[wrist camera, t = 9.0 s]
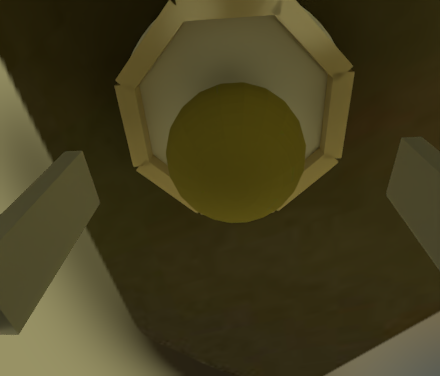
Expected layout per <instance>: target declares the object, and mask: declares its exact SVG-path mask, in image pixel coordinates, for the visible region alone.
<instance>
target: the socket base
mask: <svg viewBox="0 0 440 376" xmlns="http://www.w3.org/2000/svg"><path fill="white" fill-rule="evenodd" d="M175 1H176V2H175ZM175 1H174V0H169V1H168V2H167V4H166V5H165V7H164V8H163V10H162V11H161V13H160V14H159V16H158V17H157V19H156V20H155V21H153V22H152V23H151V25H150V26H149V27H148V29H147V30H146V31H145V32H144V34H143V35H142V36H141V38H140V40H139V41H138V43H137V45H136V47H135V48H134V50H133V53H132V55H131V57H130V59H129V60H128V62H127V63H126V65H125V66H124V68H123V69H122V71H121V72H120V74H119V75H118V77H117V78H116V80H115V81H116V82H118V83H117V84H116V85H114V87H115V92H116V96H117V100H118V104H119V108H120V113H121V117H122V121H123V125H124V129H125V134H126V138H127V142H128V146H129V150H130V155H131V159H132V163H133V167H136V166H138V168H137V170H136V171H138V172H139V173H140V174H142V175H143V176H145V177H146V178H147V179H149V180H150V181H152V182H153V183H155V184H156V185H157V186H159V187H160V188H162V189H163V190H164V191H166V192H167V193H169V194H170V195H171V196H173V197H174V198H176V199H177V200H178V201H180V202H181V203H183V204H184V205H186V206H187V207H188V208H190V209H191V210H193V211H194V212H195V213H198V212H197V211H196V210H195V209H194V208H192V207H191V206H190V205H189V204H188V203H187V202H186V201H185V200H184V199H183V198H182V197H181V196H180V194H179V192H178V191H177V189H176V187H175V185H174V183H173V182H172V180H171V178H170V175H169V169H168V164H167V158H166V148H167V142H168V136H169V131H170V127H171V126H172V124H173V122H174V120H175V119H176V117H177V115H178V113H179V112H180V110H181V108H182V107H183V106H184V105H185V104H186V103H188V102H189V101H190V100H191V99H192V98H193V97H195V96H196V95H197V94H198V93H199V92H201V91H204V90H206V89H209V88H211V87H214V86H216V85H218V84H224V83H239V82H245V83H248V84H252V85H256V86H260V87H263V88H266V89H268V90H269V91H271V92H272V93H274V94H275V95H277V96H278V97H280V98H281V99H283V100H284V101H285V102H286V103H287V105H288V106H289V108H290V109H291V110H292V112H293V113H294V114H295V116H296V117H297V119H298V120H299V122H300V126H301V129H302V133H303V136H304V140H305V143H306V153H305V165H304V171H303V174H302V176H301V178H300V180H299V183H298V185H297V187H296V189H295V191H294V193H293V194H292V195H291V196H290V197H289V198H288V199H287V200H286V201H285V203H284V204H283V205H282V206H281V207H279V208H278V209H276V210H278V211H279V210H280V209H281V208H283V207H284V206H285V205H286V204H288V203H289V202H290V201H291V200H293V199H294V198H295V197H296V196H298V195H299V194H300V193H301V192H303V191H304V190H305V189H306V188H307V187H309V186H310V185H311V184H312V183H314V182H315V181H316V180H317V179H319V178H320V177H321V176H322V175H324V174H325V173H326V172H327V171H329V170H330V169H331V168H332V167H333V166H335V165H336V164H337V163H338V160H337V159H336V158H341V157H342V150H343V144H344V138H345V131H346V125H347V118H348V112H349V106H350V99H351V93H352V86H353V80H354V73H355V72H354V71H353V70H351V68H352V67H353V65H352V64H351V63H350V62H349V61H348V60H347V58H346V57H345V56H344V55H343V54H342V53H341V51H340V50H339V49H338V48H337V47H336V46H335V44H334V42H333V40H332V38H331V37H330V35H329V34H328V33H327V31H326V30H325V28H324V27H323V26H322V24H321V23H320V22H319V21H318V20H317V19H316V18H315V17H314V16H313V15H312V14H311V13H310V12H308V11H307V10H306V9H304V8H303V7H301V5H300V4H299V3H298V2H297V1H296V0H175ZM272 213H274V211H273V212H272ZM201 215H203V214H201Z"/></svg>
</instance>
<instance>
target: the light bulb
mask: <svg viewBox="0 0 440 376" xmlns="http://www.w3.org/2000/svg"><path fill="white" fill-rule="evenodd" d="M305 153H306V143H305V140H304V136H303V133H302V129H301V126H300V122H299V120H298V119H297V117H296V116H295V114H294V113H293V112H292V110H291V109H290V108H289V106H288V105H287V103H286V102H285V101H284V100H283V99H281V98H280V97H278V96H277V95H275V94H274V93H272V92H271V91H269V90H268V89H266V88H263V87H260V86H256V85H252V84H248V83H245V82H239V83H224V84H218V85H216V86H214V87H211V88H209V89H206V90H204V91H201V92H199V93H198V94H197V95H196V96H195V97H193V98H192V99H191V100H190V101H189V102H188V103H186V104H185V105H184V106H183V107H182V108H181V110H180V112H179V113H178V115H177V117H176V119H175V120H174V122H173V124H172V126H171V127H170V131H169V136H168V142H167V148H166V158H167V164H168V169H169V175H170V178H171V180H172V182H173V183H174V185H175V187H176V189H177V191H178V192H179V194H180V196H181V197H182V198H183V199H184V200H185V201H186V202H187V203H188V204H189V205H190V206H191V207H192V208H194V209H195V210H196V211H197V212H199V213H201V214H203V215H205V216H207V217H209V218H211V219H214V220H219V221H223V222H228V223H237V222H249V221H253V220H256V219H259V218H263V217H265V216H267V215H268V214H270V213H272V212H273V211H275V210H276V209H278V208H279V207H281V206H282V205H283V204H284V203H285V201H286V200H287V199H288V198H289V197H290V196H291V195H292V194H293V193H294V191H295V189H296V187H297V185H298V183H299V180H300V178H301V176H302V174H303V171H304V165H305Z"/></svg>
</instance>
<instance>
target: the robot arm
mask: <svg viewBox="0 0 440 376" xmlns="http://www.w3.org/2000/svg"><path fill="white" fill-rule="evenodd" d="M386 196H387V197H388V199H389V200H390V202H391V203H392V204H393V206H394V207H395V209H396V210H397V211H398V213H399V214H400V216H401V217H402V218H403V220H404V221H405V223H406V224H407V226H408V227H409V228H410V230H411V231H412V233H413V234H414V235H415V237H416V238H417V240H418V241H419V242H420V244H421V245H422V247H423V248H424V250H425V251H426V252H427V254H428V255H429V257H430V258H431V259H432V261H433V262H434V264H435V265H436V266H437V268H438V269H439V271H440V152H439V151H438V150H437V149H436V148H435V147H433V146H432V145H431V144H430V143H428V142H427V141H426V140H425V139H424V138H422V137H406V138H401V141H400V145H399V149H398V152H397V156H396V159H395V163H394V167H393V170H392V174H391V178H390V181H389V185H388V189H387V192H386ZM99 204H100V201H99V198H98V195H97V192H96V189H95V186H94V183H93V180H92V178H91V175H90V172H89V169H88V166H87V163H86V160H85V157H84V154H83V151H65V152H64V153H63V154H62V155H61V156H60V157H59V158H58V159H57V160H56V161H55V162H54V163H53V164H52V165H51V166H50V167H49V168H48V169H47V170H46V171H45V172H44V173H43V174H42V175H41V176H40V177H39V178H38V179H37V180H36V181H35V182H34V183H33V184H32V185H31V186H30V187H29V188H28V189H26V191H24V192H23V193H22V194H21V195H20V196H19V197H18V198H17V199H16V200H15V201H14V202H13V203H12V204H11V205H10V206H9V207H8V208H7V209H6V210H5V211H4V212H3V213H2V214H1V215H0V334H4V335H5V334H6V335H18V334H19V333H20V332H21V330H22V328H23V327H24V325H25V323H26V322H27V320H28V319H29V317H30V315H31V314H32V312H33V310H34V309H35V307H36V306H37V304H38V303H39V301H40V299H41V298H42V296H43V294H44V293H45V291H46V289H47V288H48V286H49V285H50V283H51V282H52V280H53V278H54V277H55V275H56V273H57V272H58V270H59V269H60V267H61V265H62V264H63V262H64V260H65V259H66V257H67V256H68V254H69V252H70V251H71V249H72V248H73V246H74V244H75V243H76V241H77V240H78V238H79V236H80V235H81V233H82V231H83V230H84V228H85V227H86V225H87V223H88V222H89V220H90V219H91V217H92V215H93V214H94V212H95V211H96V209H97V207H98V206H99Z"/></svg>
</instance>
